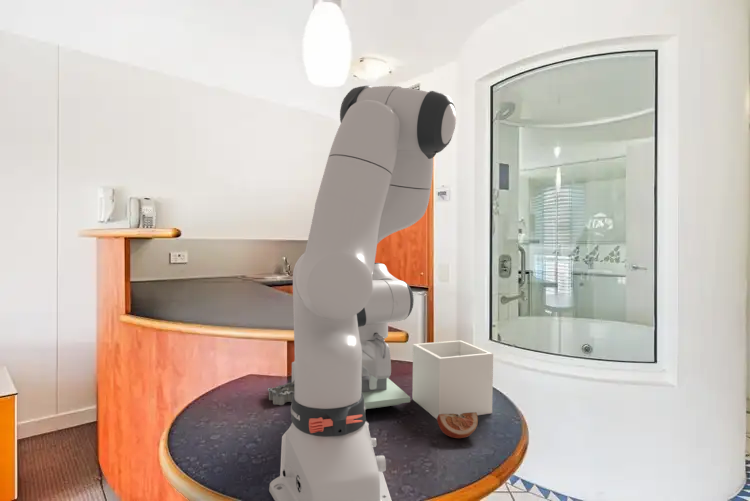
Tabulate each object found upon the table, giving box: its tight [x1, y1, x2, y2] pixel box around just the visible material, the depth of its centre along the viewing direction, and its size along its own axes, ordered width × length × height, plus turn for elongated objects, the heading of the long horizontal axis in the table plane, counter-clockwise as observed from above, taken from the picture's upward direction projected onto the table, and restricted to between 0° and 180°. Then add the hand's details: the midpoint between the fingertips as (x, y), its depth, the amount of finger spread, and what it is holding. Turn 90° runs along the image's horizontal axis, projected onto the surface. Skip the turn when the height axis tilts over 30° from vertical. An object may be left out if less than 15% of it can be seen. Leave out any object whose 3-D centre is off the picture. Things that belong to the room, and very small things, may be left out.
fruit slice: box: [436, 412, 479, 439], centre depth 87 cm, size 8×7×5 cm
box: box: [411, 339, 494, 420], centre depth 103 cm, size 14×14×14 cm
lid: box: [361, 376, 411, 410], centre depth 103 cm, size 15×15×5 cm
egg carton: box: [267, 381, 294, 406], centre depth 108 cm, size 11×8×4 cm
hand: (369, 385), depth 103 cm, fingers closed on lid, 2 cm apart
